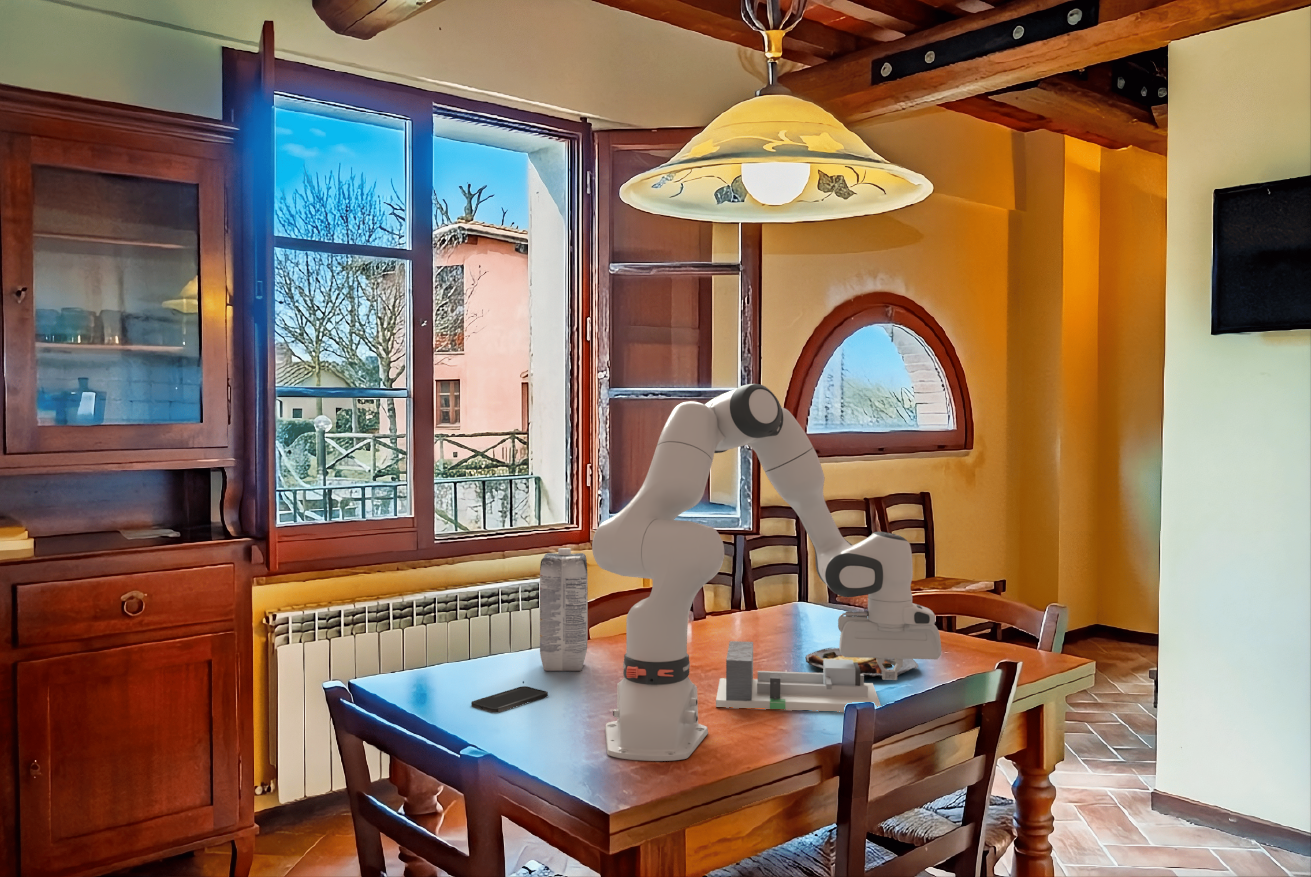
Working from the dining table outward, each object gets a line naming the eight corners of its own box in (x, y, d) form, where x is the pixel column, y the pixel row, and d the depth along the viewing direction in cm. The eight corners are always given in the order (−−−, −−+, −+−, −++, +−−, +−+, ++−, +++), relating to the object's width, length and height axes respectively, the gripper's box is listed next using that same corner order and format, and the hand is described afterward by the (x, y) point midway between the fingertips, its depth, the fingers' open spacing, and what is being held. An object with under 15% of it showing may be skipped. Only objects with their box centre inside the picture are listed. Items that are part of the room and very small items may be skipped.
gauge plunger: (862, 701, 195) (862, 676, 195) (826, 700, 196) (826, 675, 196) (857, 684, 208) (857, 660, 207) (823, 682, 208) (823, 659, 208)
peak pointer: (780, 701, 195) (780, 681, 195) (770, 701, 195) (770, 680, 195) (780, 694, 200) (780, 674, 200) (770, 694, 200) (770, 674, 200)
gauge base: (881, 714, 193) (881, 696, 193) (715, 707, 197) (715, 690, 197) (872, 690, 209) (872, 673, 209) (720, 685, 213) (720, 668, 213)
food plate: (865, 688, 210) (866, 672, 210) (784, 667, 228) (784, 652, 228) (936, 672, 226) (936, 656, 226) (854, 653, 244) (855, 639, 244)
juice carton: (585, 672, 223) (585, 552, 222) (538, 672, 222) (538, 552, 222) (588, 662, 231) (588, 546, 231) (542, 662, 231) (542, 546, 230)
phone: (550, 692, 205) (495, 709, 193) (550, 697, 205) (495, 715, 193) (523, 685, 210) (468, 702, 198) (523, 690, 210) (468, 707, 198)
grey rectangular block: (751, 701, 196) (751, 661, 196) (726, 700, 197) (726, 660, 196) (752, 679, 212) (753, 641, 212) (729, 678, 213) (729, 641, 212)
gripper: (839, 614, 201) (838, 682, 202) (943, 616, 199) (942, 685, 199) (837, 607, 207) (836, 673, 208) (937, 609, 205) (937, 676, 206)
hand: (889, 679), depth 204 cm, fingers closed
